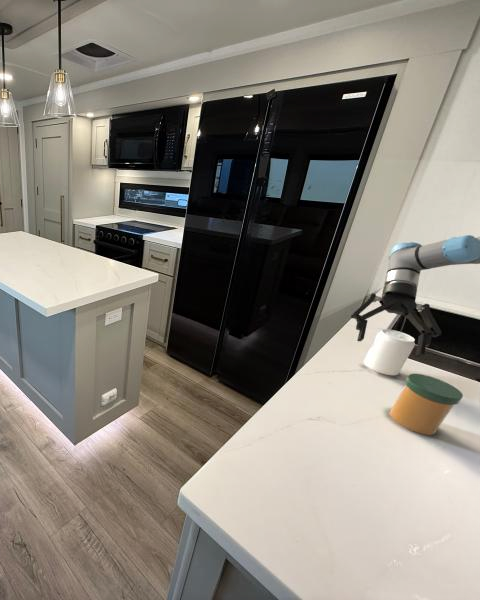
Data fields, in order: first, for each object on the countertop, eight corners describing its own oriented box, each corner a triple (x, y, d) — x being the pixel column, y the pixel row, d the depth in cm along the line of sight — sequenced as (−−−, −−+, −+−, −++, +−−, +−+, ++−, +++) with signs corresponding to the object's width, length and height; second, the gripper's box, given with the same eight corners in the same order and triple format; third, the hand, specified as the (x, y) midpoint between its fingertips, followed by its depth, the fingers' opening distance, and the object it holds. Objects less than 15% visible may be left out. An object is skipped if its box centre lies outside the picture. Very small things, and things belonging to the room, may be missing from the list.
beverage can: (394, 380, 90) (414, 345, 85) (359, 366, 96) (376, 332, 91) (400, 371, 94) (419, 337, 90) (367, 358, 100) (383, 325, 95)
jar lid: (450, 389, 72) (454, 383, 72) (466, 411, 66) (470, 404, 65) (400, 375, 77) (403, 369, 76) (410, 394, 70) (414, 387, 69)
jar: (429, 419, 76) (451, 384, 72) (440, 440, 70) (466, 404, 66) (386, 405, 80) (405, 372, 76) (393, 424, 74) (414, 389, 69)
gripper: (448, 302, 96) (439, 365, 90) (347, 283, 108) (334, 337, 102) (464, 291, 89) (456, 358, 84) (355, 272, 102) (342, 330, 96)
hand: (389, 347), depth 93 cm, fingers open, 13 cm apart
